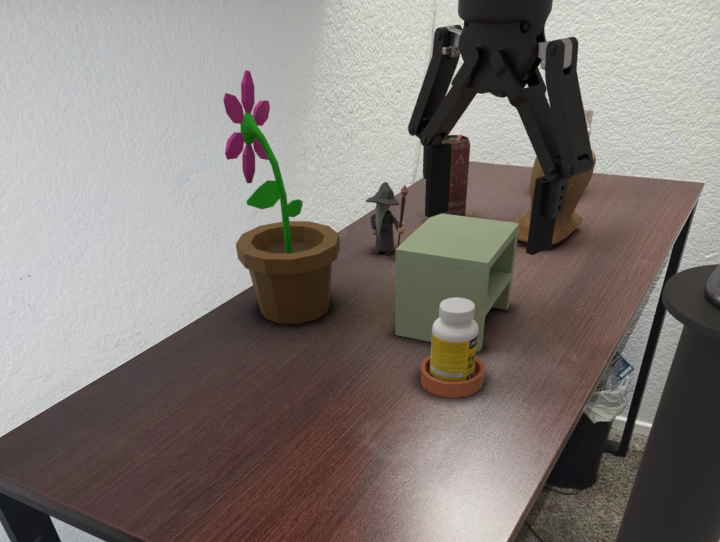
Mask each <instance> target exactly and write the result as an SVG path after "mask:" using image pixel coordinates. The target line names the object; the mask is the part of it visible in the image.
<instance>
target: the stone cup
mask: <svg viewBox="0 0 720 542" xmlns="http://www.w3.org/2000/svg"><path fill="white" fill-rule="evenodd" d="M591 150H592V155H593V161H594V165H593V168H592V169H591V170H589V171H587V172H584V173H581V174H578V175H575V176H573V177H570V179H569V183H568V189H567V195H566V201H565V207H564V211H563V213H562V215H560V216H557V217H556V221H555V227H554V233H553V240H552V246H553V245H557V244H558V243H561V242H562V241H564V240H565V239H566V238H568V237H569V236H570V234H572V233H573V232H574V231H575V230H576V229H577V228H578V227H579V226H580V225H581V224H582V222H583V221H584V218H583V216H582V215H581V214H580V213H578V212H577V211H576V208H577V206H578V204H579V202H580V201H581V199H582V197H583V195H584V193H585V191H586V190H587V188H588V186H589V184H590V183H591V180H592V178H593V176H594V175H593V174H594V169H595V167H596V164H597V163H596V162H597V157H596V153H595V152H594V150H593V149H591ZM532 165H533V166H532V170H531V175H530V181H529V194H530V209H529V210H528V211H527V212H526V213H525V214H523V215H522V216H520V217H519V218H518V219H517V220H515V221H514V222H513V223H519V230H518V238H517V241H520V242H522V243H526V244H527V241H528V234H529V226H530V219H531V211H532V204H533V196H534V189H535V181H536V179H537V178H540V177H542V176H544V172H543V170H542V168H541V165H540V163H539V161H538V158H537V156H536V155H535V159H534V162H533V164H532Z"/></svg>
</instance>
